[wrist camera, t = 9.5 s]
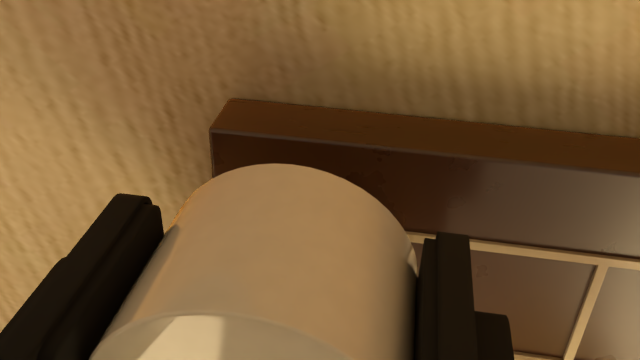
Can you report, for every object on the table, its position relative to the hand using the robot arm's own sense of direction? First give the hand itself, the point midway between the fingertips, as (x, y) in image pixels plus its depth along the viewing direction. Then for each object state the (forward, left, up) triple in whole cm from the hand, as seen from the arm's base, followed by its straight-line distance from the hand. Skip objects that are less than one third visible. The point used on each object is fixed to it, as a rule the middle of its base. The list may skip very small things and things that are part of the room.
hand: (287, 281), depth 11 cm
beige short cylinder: (0, 0, 0) cm, 0 cm away
